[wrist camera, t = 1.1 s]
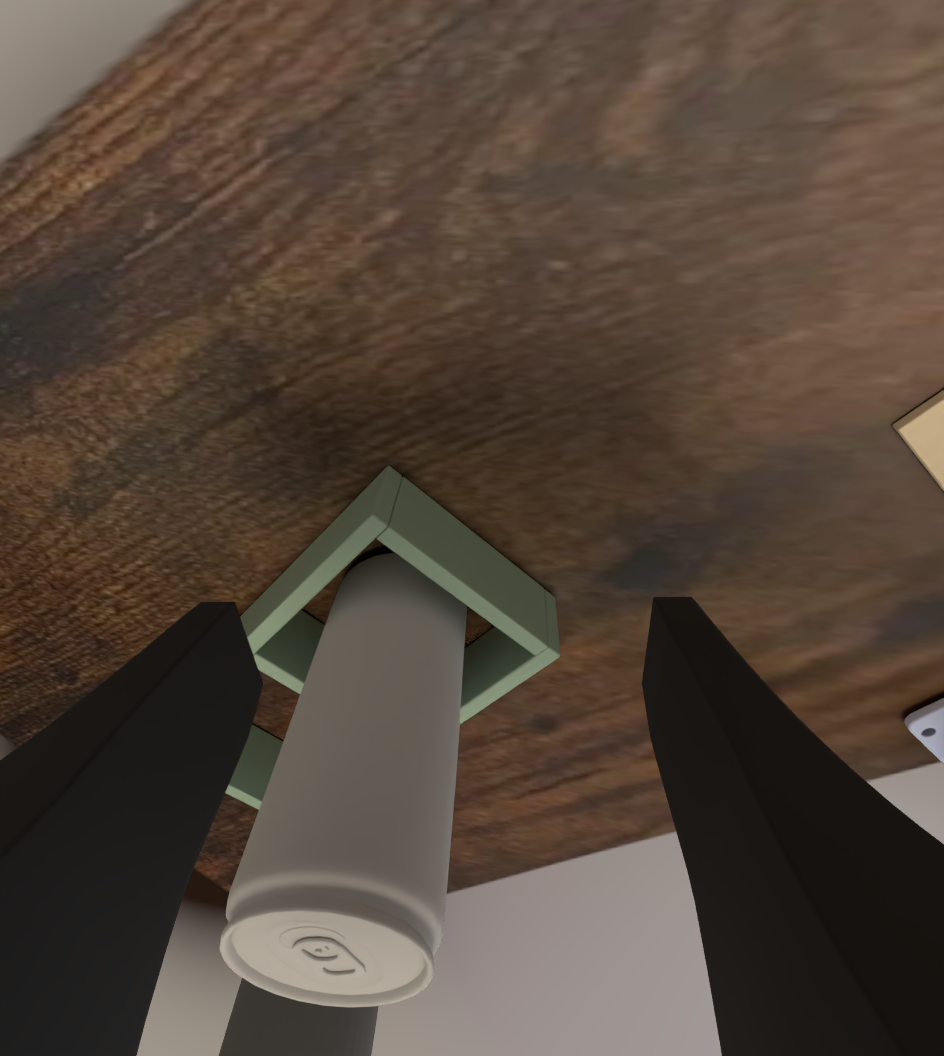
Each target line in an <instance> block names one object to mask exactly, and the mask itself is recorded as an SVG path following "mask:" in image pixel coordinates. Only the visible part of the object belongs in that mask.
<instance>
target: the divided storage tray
mask: <svg viewBox="0 0 944 1056" xmlns="http://www.w3.org/2000/svg"><path fill="white" fill-rule="evenodd" d="M376 537H377V540H379V541H380V542H381V543H383V544H384V545H385V546H387V547H388V548H389V549H391V550H392V551H394V552H395V553H396V554H398V555H399V556H400V557H402V558H403V559H404V560H406V561H407V562H408V563H410V564H411V565H413V566H414V567H415V568H417V569H418V570H419V571H421V572H422V573H423V574H425V575H426V576H427V577H429V578H430V579H432V580H433V581H434V582H436V583H437V584H438V585H440V586H441V587H442V588H444V589H445V590H447V591H448V592H449V593H451V594H452V595H453V596H455V597H456V598H457V599H459V600H460V601H461V602H463V603H464V604H466V605H467V606H468V607H470V608H471V609H472V610H474V611H475V612H476V613H478V614H479V615H480V616H482V617H483V618H485V619H486V620H487V621H489V622H490V623H491V624H493V625H494V627H493V628H492V629H490V630H489V631H488V632H487V633H485V634H484V635H483V636H481V637H480V638H479V639H477V640H476V641H475V642H473V643H472V644H471V645H469V646H468V647H467V648H465V649H464V658H463V674H462V691H461V709H460V724H461V723H463V722H464V721H466V720H467V719H469V718H470V717H472V716H473V715H475V714H476V713H478V712H479V711H481V710H482V709H483V708H485V707H486V706H488V705H489V704H491V703H492V702H494V701H495V700H497V699H498V698H500V697H501V696H503V695H504V694H506V693H507V692H509V691H510V690H511V689H513V688H514V687H516V686H517V685H519V684H520V683H522V682H523V681H525V680H526V679H528V678H529V677H531V676H532V675H534V674H535V673H537V672H538V671H540V670H541V669H542V668H544V667H545V666H547V665H548V664H550V663H551V662H553V661H554V660H556V659H557V658H559V657H560V646H559V635H558V624H557V613H556V602H555V597H554V596H553V595H551V594H550V593H549V592H548V591H546V590H545V589H544V588H543V587H542V586H541V585H539V584H538V583H537V582H536V581H534V580H533V579H532V578H531V577H529V576H528V575H527V574H525V573H524V572H523V571H522V570H520V569H519V568H518V567H517V566H515V565H514V564H513V563H512V562H510V561H509V560H508V559H507V558H505V557H504V556H503V555H502V554H500V553H499V552H498V551H497V550H495V549H494V548H493V547H492V546H490V545H489V544H488V543H487V542H485V541H484V540H483V539H481V538H480V537H479V536H478V535H476V534H475V533H474V532H473V531H471V530H470V529H469V528H468V527H466V526H465V525H464V524H463V523H461V522H460V521H459V520H458V519H456V518H455V517H454V516H453V515H451V514H450V513H449V512H448V511H446V510H445V509H444V508H442V507H441V506H440V505H439V504H437V503H436V502H435V501H434V500H432V499H431V498H430V497H429V496H427V495H426V494H425V493H424V492H422V491H421V490H420V489H419V488H417V487H416V486H415V485H414V484H412V483H411V482H410V481H409V480H407V479H406V478H405V477H402V476H401V474H399V473H398V472H397V471H396V470H394V469H393V468H392V467H390V466H387V467H386V468H385V469H384V470H383V471H382V472H381V473H380V474H379V475H378V476H377V477H376V478H375V479H374V480H373V481H372V482H371V484H370V485H369V486H368V487H367V488H366V489H365V490H364V491H363V492H362V493H361V494H360V495H359V496H358V497H357V498H356V499H355V500H354V501H353V502H352V503H351V504H350V505H349V506H348V507H347V508H346V509H345V510H344V511H343V512H342V513H341V514H340V515H339V516H338V517H337V518H336V519H335V520H334V521H333V522H332V523H331V524H330V525H329V526H328V527H327V528H326V530H325V531H324V532H323V533H322V534H321V535H320V536H319V537H318V538H317V539H316V540H315V541H314V542H313V543H312V544H311V545H310V546H309V547H308V548H307V549H306V550H305V551H304V552H303V553H302V554H301V555H300V556H299V557H298V558H297V559H296V560H295V561H294V562H293V563H292V564H291V565H290V566H289V567H288V568H287V569H286V570H285V571H284V572H283V573H282V574H281V575H280V577H279V578H278V579H277V580H276V581H275V582H274V583H273V584H272V585H271V586H270V587H269V588H268V589H267V590H266V591H265V592H264V593H263V594H262V595H261V596H260V597H259V598H258V599H257V600H256V601H255V602H254V603H253V604H252V605H251V606H250V607H249V608H248V609H247V610H246V611H245V612H244V613H243V614H242V615H241V616H240V618H241V621H242V624H243V627H244V630H245V633H246V636H247V638H248V641H249V644H250V647H251V650H252V653H253V656H254V659H255V662H256V664H257V667H258V670H260V671H262V672H263V673H265V674H267V675H268V676H270V677H272V678H273V679H275V680H277V681H278V682H280V683H282V684H283V685H285V686H287V687H289V688H290V689H292V690H294V691H295V692H297V693H299V694H301V691H302V688H303V686H304V683H305V680H306V677H307V674H308V672H309V669H310V666H311V663H312V660H313V658H314V655H315V652H316V649H317V646H318V644H319V641H320V638H321V635H322V632H323V630H324V627H325V625H324V624H322V623H321V622H319V621H318V620H316V619H314V618H313V617H311V616H310V615H308V614H307V613H305V612H304V611H302V610H301V609H302V608H303V607H304V606H305V605H306V604H307V603H308V602H309V601H310V600H311V599H312V598H313V597H314V596H315V595H316V594H318V593H319V592H320V591H321V590H322V589H323V588H324V587H325V586H326V585H327V584H328V583H329V582H330V581H331V580H332V579H333V578H334V577H335V576H336V575H337V574H339V573H340V572H341V571H342V570H343V569H344V568H345V567H346V566H347V565H348V564H349V563H350V562H351V561H352V560H353V559H354V558H355V557H356V556H357V555H358V554H359V553H361V552H362V551H363V550H364V549H365V548H366V547H367V546H368V545H369V544H370V543H371V542H372V541H373V540H374V539H375V538H376ZM282 744H283V741H281V740H279V739H278V738H276V737H274V736H272V735H270V734H269V733H267V732H265V731H263V730H261V729H260V728H258V727H256V726H254V725H252V726H251V730H250V733H249V737H248V739H247V742H246V744H245V747H244V749H243V752H242V754H241V756H240V759H239V761H238V764H237V766H236V768H235V771H234V773H233V776H232V778H231V780H230V783H229V785H228V787H227V790H226V792H225V793H227V794H229V795H231V796H233V797H235V798H237V799H239V800H241V801H243V802H244V803H246V804H248V805H250V806H252V807H254V808H256V809H258V810H259V809H260V806H261V803H262V800H263V798H264V795H265V792H266V789H267V786H268V784H269V781H270V778H271V775H272V772H273V770H274V767H275V764H276V761H277V758H278V756H279V753H280V750H281V747H282Z"/></svg>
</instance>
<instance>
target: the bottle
mask: <svg viewBox="0 0 944 1056" xmlns="http://www.w3.org/2000/svg"><path fill="white" fill-rule="evenodd" d="M377 1012H378V1006H372V1007H337V1006H324V1005H318V1004H312V1003H307V1002H301V1001H297V1000H293V999H290V998H286V997H283V996H279V995H276V994H274V993H271V992H269V991H267V990H264V989H262V988H259V987H257V986H255V985H253V984H252V983H250V982H248V981H247V980H245V979H244V978H242V981H241V984H240V987H239V990H238V994H237V997H236V1000H235V1003H234V1007H233V1010H232V1013H231V1016H230V1020H229V1023H228V1027H227V1030H226V1033H225V1037H224V1040H223V1043H222V1047H221V1050H220V1053H219V1056H371V1053H372V1046H373V1039H374V1033H375V1026H376V1019H377Z"/></svg>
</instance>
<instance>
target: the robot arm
mask: <svg viewBox="0 0 944 1056" xmlns="http://www.w3.org/2000/svg"><path fill="white" fill-rule="evenodd" d="M262 686H263V682H262V679H261V676H260V673H259V670H258V667H257V664H256V662H255V659H254V656H253V653H252V650H251V647H250V644H249V641H248V638H247V636H246V633H245V630H244V627H243V624H242V621H241V618H240V615H239V612H238V610H237V607H236V604H235V602H201V603H200V604H198V605H197V606H196V607H194V608H193V609H192V610H191V611H189V612H188V613H187V614H185V615H184V616H183V617H182V618H181V619H179V620H178V621H177V622H176V623H174V624H173V625H172V626H171V627H170V628H168V629H167V630H166V631H165V632H164V633H163V634H161V635H160V636H159V637H158V638H157V639H155V640H154V641H153V642H152V643H151V644H149V645H148V646H147V647H146V648H145V649H144V650H142V651H141V652H140V653H139V654H138V655H136V656H135V657H134V658H133V659H131V660H130V661H129V662H128V663H127V664H125V665H124V666H123V667H122V668H121V669H119V670H118V671H117V672H116V673H115V674H113V675H112V676H111V677H110V678H108V679H107V680H106V681H105V682H104V683H102V684H101V685H100V686H99V687H98V688H96V689H95V690H94V691H92V692H91V693H90V694H89V695H87V696H86V697H85V698H83V699H82V700H81V701H79V702H78V703H77V704H76V705H74V706H73V707H72V708H70V709H69V710H68V711H66V712H65V713H64V714H63V715H61V716H60V717H59V718H57V719H56V720H55V721H53V722H52V723H51V724H50V725H48V726H47V727H46V728H44V729H43V730H42V731H40V732H39V733H38V734H36V735H35V736H34V737H32V738H31V739H30V740H28V741H27V742H25V743H24V744H23V745H21V746H20V747H18V748H17V749H16V750H14V751H13V752H11V753H10V754H8V755H7V756H6V757H4V758H3V759H2V760H0V1056H136V1055H137V1051H138V1047H139V1043H140V1040H141V1036H142V1032H143V1028H144V1025H145V1021H146V1017H147V1014H148V1010H149V1006H150V1003H151V1000H152V997H153V993H154V990H155V986H156V982H157V979H158V976H159V972H160V969H161V966H162V962H163V959H164V955H165V952H166V948H167V946H168V942H169V939H170V936H171V933H172V930H173V927H174V923H175V920H176V917H177V914H178V911H179V908H180V904H181V901H182V898H183V895H184V892H185V889H186V886H187V884H188V881H189V878H190V876H191V873H192V871H193V868H194V865H195V863H196V860H197V858H198V855H199V853H200V851H201V848H202V846H203V844H204V841H205V839H206V837H207V834H208V832H209V830H210V827H211V825H212V823H213V820H214V818H215V816H216V813H217V811H218V809H219V806H220V804H221V801H222V799H223V797H224V794H225V792H226V790H227V787H228V785H229V783H230V780H231V778H232V776H233V773H234V771H235V768H236V766H237V764H238V761H239V759H240V756H241V754H242V752H243V749H244V747H245V744H246V742H247V739H248V737H249V733H250V730H251V726H252V723H253V720H254V716H255V713H256V709H257V705H258V701H259V697H260V693H261V689H262ZM642 686H643V693H644V699H645V706H646V713H647V719H648V725H649V731H650V737H651V742H652V745H653V749H654V753H655V756H656V760H657V764H658V767H659V771H660V775H661V778H662V782H663V785H664V789H665V793H666V796H667V800H668V803H669V807H670V810H671V814H672V817H673V821H674V825H675V828H676V832H677V835H678V839H679V842H680V846H681V849H682V853H683V856H684V860H685V863H686V867H687V871H688V875H689V879H690V883H691V888H692V892H693V896H694V900H695V905H696V911H697V916H698V921H699V927H700V932H701V937H702V943H703V948H704V954H705V959H706V964H707V970H708V976H709V982H710V988H711V993H712V999H713V1005H714V1011H715V1016H716V1022H717V1028H718V1034H719V1040H720V1046H721V1052H722V1056H944V844H942V843H941V842H940V841H939V840H937V839H936V838H935V837H933V836H932V835H931V834H929V833H928V832H927V831H925V830H924V829H923V828H921V827H920V826H919V825H918V824H916V823H915V822H914V821H913V820H911V819H910V818H909V817H908V816H906V815H905V814H904V813H903V812H901V811H900V810H899V809H898V808H896V807H895V806H894V805H893V804H891V803H890V802H889V801H888V800H887V799H886V798H884V797H883V796H882V795H881V794H880V793H879V792H878V791H876V790H875V789H874V788H873V787H872V786H871V785H869V784H868V783H867V782H866V781H865V780H864V779H862V778H861V777H860V776H859V775H858V774H857V773H856V772H854V771H853V770H852V769H851V768H850V767H849V766H848V765H847V764H846V763H845V762H844V761H842V760H841V759H840V758H839V757H838V756H837V755H836V754H835V753H834V752H833V751H832V750H831V749H830V748H829V747H827V746H826V745H825V744H824V743H823V742H822V741H821V740H820V739H819V738H818V737H817V736H816V735H815V734H814V733H813V732H812V731H811V730H810V729H809V728H808V727H807V726H806V725H805V724H804V723H803V722H802V721H801V720H800V719H799V718H798V717H797V716H796V715H795V714H794V713H793V712H792V711H791V710H790V709H789V708H788V707H787V706H786V705H785V704H784V703H783V702H782V700H781V699H780V698H779V697H778V696H777V695H776V694H775V693H774V692H773V691H772V690H771V689H770V687H769V686H768V685H767V684H766V683H765V682H764V681H763V680H762V679H761V678H760V677H759V676H758V674H757V673H756V672H755V671H754V670H753V669H752V668H751V667H750V666H749V664H748V663H747V662H746V661H745V660H744V659H743V658H742V656H741V655H740V654H739V653H738V652H737V651H736V649H735V648H734V647H733V646H732V645H731V644H730V642H729V641H728V640H727V639H726V638H725V636H724V635H723V634H722V633H721V632H720V630H719V629H718V628H717V627H716V626H715V624H714V623H713V622H712V621H711V619H710V618H709V617H708V616H707V615H706V613H705V612H704V611H703V610H702V608H701V607H700V606H699V605H698V603H697V602H696V601H695V600H694V599H693V598H692V597H653V604H652V612H651V619H650V627H649V634H648V642H647V650H646V657H645V665H644V672H643V680H642ZM904 723H905V725H906V726H907V728H908V729H909V731H910V732H911V733H912V734H913V735H914V736H915V737H916V738H917V739H918V740H919V741H920V742H921V743H923V744H924V745H925V746H926V747H927V748H928V749H929V750H930V751H931V752H932V753H933V754H934V755H935V756H936V757H937V758H938V759H939V760H940V761H941V762H942V763H943V764H944V698H942V699H940V700H938V701H936V702H934V703H932V704H929V705H927V706H925V707H923V708H921V709H919V710H917V711H915V712H912V713H911V714H909V715H908V716H907V717H906V718H905V721H904Z"/></svg>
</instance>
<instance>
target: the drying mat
mask: <svg viewBox="0 0 944 1056" xmlns="http://www.w3.org/2000/svg"><path fill="white" fill-rule="evenodd" d="M893 427H894V428H895V430H896V431H897V432H898V434H899V435H900V436H901V437H902V439H903V440H904V441H905V443H906V444H907V445H908V446H909V448H910V449H911V450H912V451H913V453H914V454H915V455H916V457H917V458H918V459H919V460H920V462H921V463H922V464H923V466H924V467H925V468H926V469H927V471H928V472H929V473H930V474H931V476H932V477H933V478H934V480H935V481H936V482H937V483H938V485H939V486H940V487H941V489H942V490H943V491H944V390H943V391H941V392H940V393H938V394H937V395H935V396H934V397H932V398H931V399H929V400H928V401H926V402H925V403H924V404H922V405H921V406H919V407H918V408H916V409H915V410H913V411H912V412H910V413H909V414H907V415H906V416H904V417H903V418H902V419H900V420H899V421H897V422H896V423H894V424H893Z"/></svg>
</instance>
